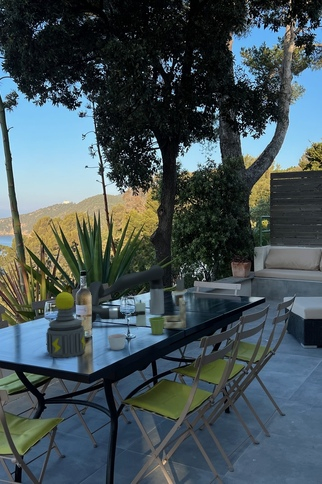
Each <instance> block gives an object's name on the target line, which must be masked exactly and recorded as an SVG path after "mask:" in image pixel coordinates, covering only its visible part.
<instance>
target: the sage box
mask: <svg viewBox="0 0 322 484" xmlns="http://www.w3.org/2000/svg"><path fill="white" fill-rule="evenodd" d="M135 309H136V311H145V315H138V316H135V326H136V327H146V326H147V309H146V301H142V299H139V301H136V302H135Z"/></svg>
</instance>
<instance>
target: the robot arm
mask: <svg viewBox="0 0 322 484" xmlns="http://www.w3.org/2000/svg"><path fill="white" fill-rule="evenodd" d="M164 275H165V271H164V269H163V267H161V266H160V265H157V264H154V265H151V266H150V267H149V268H148V269H147V270H144V271H143V270H142V271H139V272H132V273H127V274H125V275H121V276H120V277H119V278H117V279H116V281H115V282H114V283H113V284H112V285H111V286H108V287H107V288H104V285H103V283H102V282H101V281H100V280H99V281H98V280H97V281H93V282H91V283H90V284H89V287H88V288H89V289H88V290H89V291H90V292H91V295H92V323H91V324H93V323H94V322H95V321H97V317H98V315H99V318H100V319H101V320H126V315H125V314H122V313H121V312H120V307H121V306H112V307H100V306H99V305H100V301H99V300H100V299H102V298H105V297H108V296H110V295H112V294H115V293H117V292H121V291H124V290H128V289H132V288H133V287H137V286H138V285H141V284H144V283H147V282H148V284H149V298H150V299H149V301H148V304H149V305H148V306H149V308H148V309H149V314H150V315H163V314H165V302H164V301H165V300H164V299H165V297H164V295H165V294H164V283H163V282H164V281H163V277H164ZM138 315H145V311H136V310H135V312H134V313H131V314H130V315H129V317H128V318H131V317H132V318H133V317H136V316H138Z"/></svg>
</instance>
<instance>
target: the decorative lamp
mask: <svg viewBox="0 0 322 484" xmlns="http://www.w3.org/2000/svg"><path fill="white" fill-rule="evenodd" d="M54 303H55V304H54V305H55V306H56V308H57V313H56V316H57V317H55V319H53V320H52V321H50V322H49V323H48V328H47V329H46V330H47V331H46V336H45V337H46V351H47V353H48V355H49V357H52V358H57V359H66V358H73V357H74V358H75V357H78V356H81V355H83V354H84V353H85V350H86V330H85V328H84V325H82V320H81V319H79V318H75V315H74V312H73V309H72V308H73V306H74V303H75V299H74V297H73V295H72V293H70V292H67V291H64V292H63V291H61V292H60V293H59V294H57V296H56V297H55V300H54Z"/></svg>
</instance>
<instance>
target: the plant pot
mask: <svg viewBox="0 0 322 484" xmlns="http://www.w3.org/2000/svg"><path fill="white" fill-rule="evenodd" d="M164 320H165V318H164V317H163V316H153V317H149V318H148V321H149V324H150V329H151V330H150V331H151V334H152V335H153V336H154V335H156V336H157V335H162V334H163V333H164Z"/></svg>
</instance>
